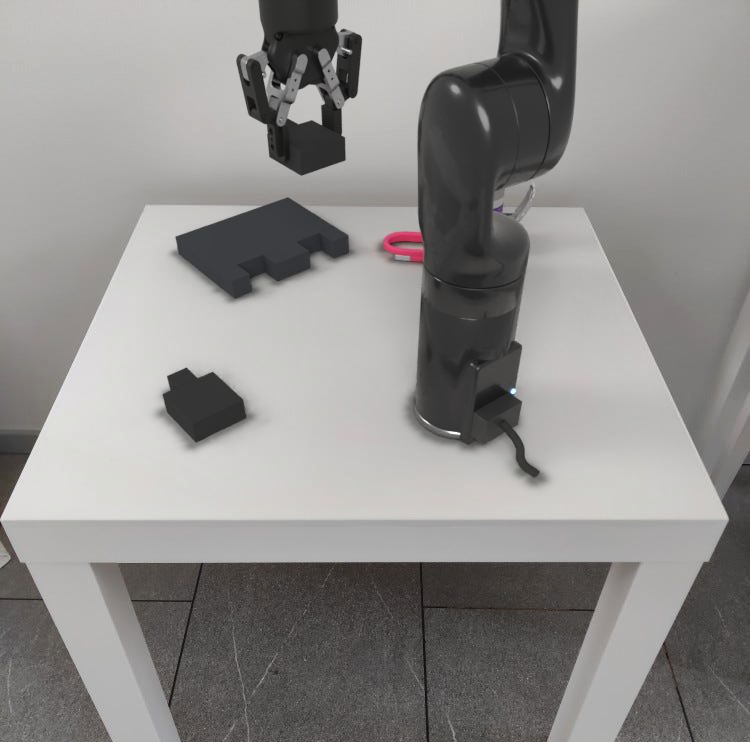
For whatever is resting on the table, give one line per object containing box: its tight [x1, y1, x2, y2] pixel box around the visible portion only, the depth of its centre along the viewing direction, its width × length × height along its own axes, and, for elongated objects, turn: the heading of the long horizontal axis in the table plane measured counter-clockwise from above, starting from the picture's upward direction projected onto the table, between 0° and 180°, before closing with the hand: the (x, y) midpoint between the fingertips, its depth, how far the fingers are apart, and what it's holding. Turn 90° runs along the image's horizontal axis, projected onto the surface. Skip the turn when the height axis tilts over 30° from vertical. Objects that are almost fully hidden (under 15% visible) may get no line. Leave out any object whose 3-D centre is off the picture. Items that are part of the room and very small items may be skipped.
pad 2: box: [162, 367, 247, 443], centre depth 79 cm, size 8×6×2 cm
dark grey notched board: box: [175, 196, 350, 299], centre depth 101 cm, size 14×18×2 cm
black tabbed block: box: [266, 117, 347, 177], centre depth 83 cm, size 8×6×2 cm
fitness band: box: [382, 230, 423, 262], centre depth 102 cm, size 8×6×2 cm
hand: (307, 150), depth 83 cm, fingers closed on black tabbed block, 6 cm apart
